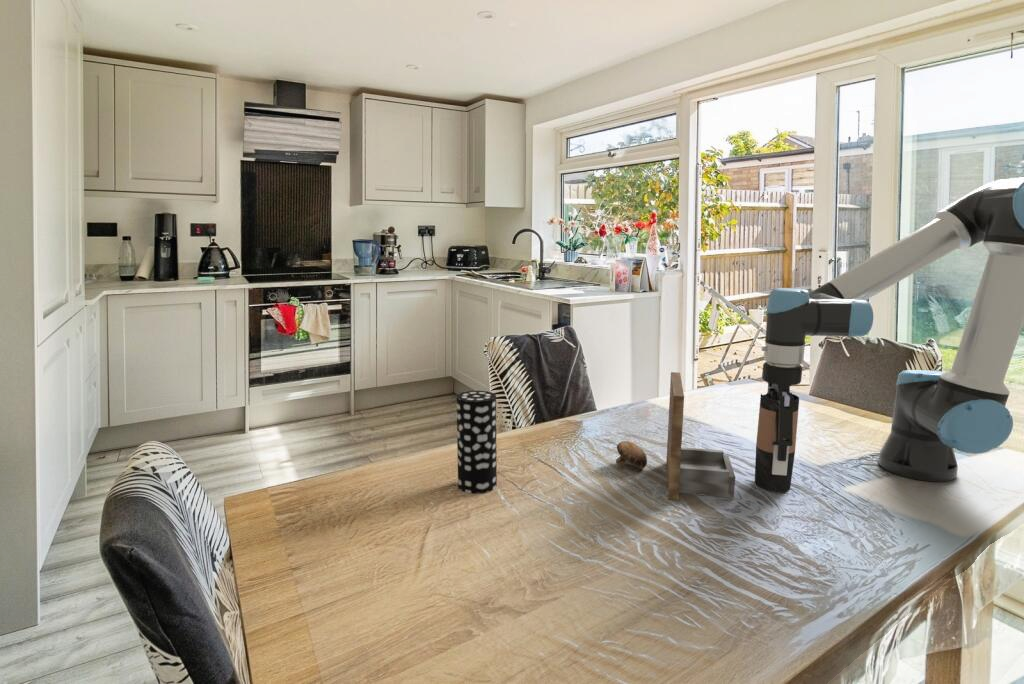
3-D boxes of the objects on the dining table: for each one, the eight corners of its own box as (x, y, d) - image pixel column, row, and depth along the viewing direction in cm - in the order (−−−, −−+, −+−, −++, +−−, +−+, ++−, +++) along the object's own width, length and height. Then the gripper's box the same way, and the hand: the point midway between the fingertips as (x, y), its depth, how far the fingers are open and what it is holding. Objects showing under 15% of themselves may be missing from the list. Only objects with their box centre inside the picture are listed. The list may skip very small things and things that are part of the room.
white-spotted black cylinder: (503, 481, 135) (502, 393, 131) (485, 496, 127) (484, 403, 123) (469, 475, 138) (468, 389, 134) (450, 489, 131) (449, 398, 127)
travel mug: (795, 494, 128) (804, 402, 124) (756, 491, 130) (764, 400, 126) (787, 479, 135) (794, 392, 132) (750, 476, 137) (757, 390, 133)
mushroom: (604, 456, 141) (621, 434, 140) (611, 457, 148) (627, 436, 148) (632, 479, 137) (649, 456, 137) (638, 479, 145) (654, 458, 144)
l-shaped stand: (725, 467, 142) (731, 375, 138) (736, 505, 123) (744, 399, 119) (666, 462, 145) (671, 372, 141) (668, 499, 126) (673, 395, 122)
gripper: (754, 351, 139) (747, 444, 143) (773, 375, 117) (764, 484, 121) (790, 352, 137) (782, 446, 142) (816, 377, 116) (805, 487, 120)
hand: (774, 464), depth 132 cm, fingers open, 10 cm apart
